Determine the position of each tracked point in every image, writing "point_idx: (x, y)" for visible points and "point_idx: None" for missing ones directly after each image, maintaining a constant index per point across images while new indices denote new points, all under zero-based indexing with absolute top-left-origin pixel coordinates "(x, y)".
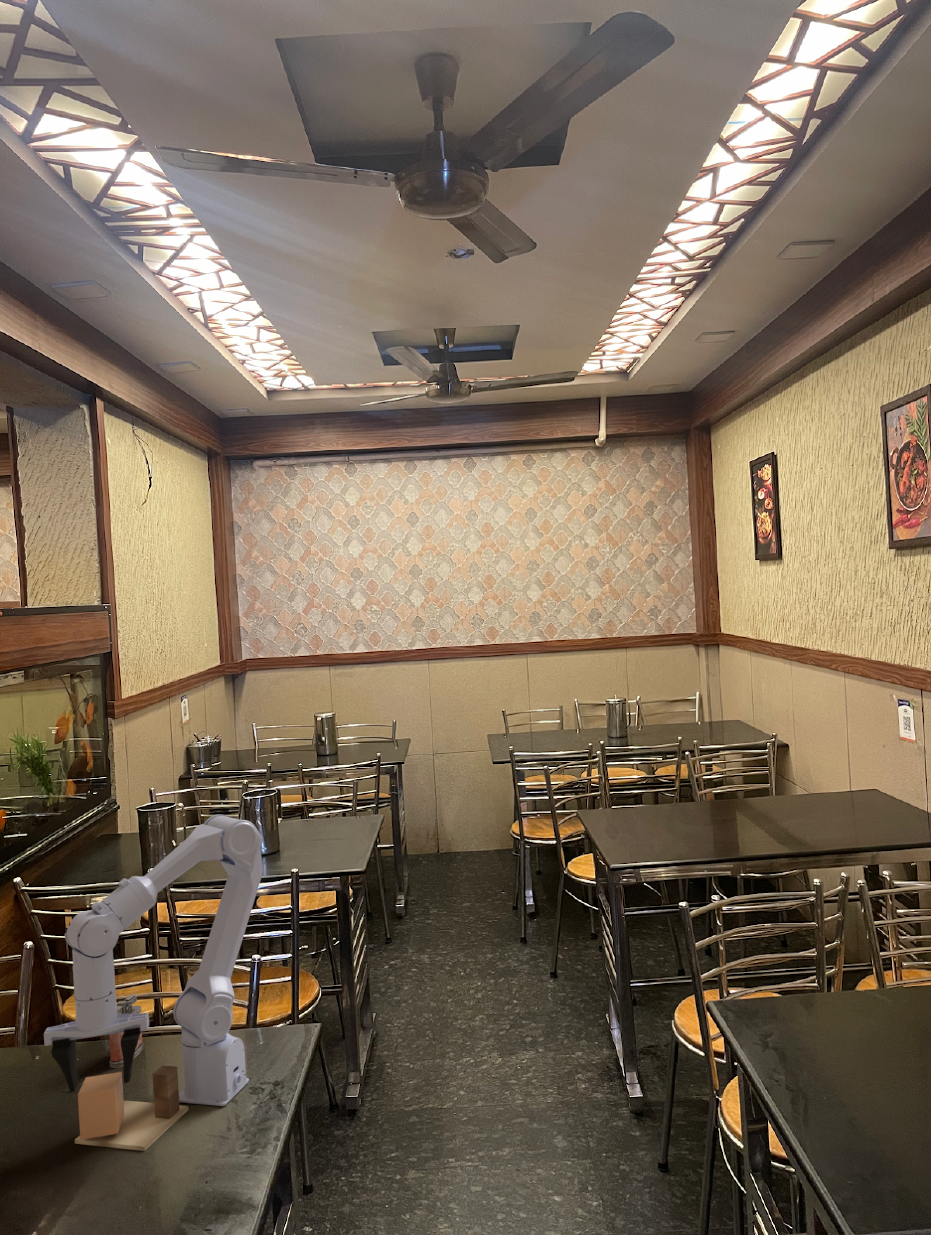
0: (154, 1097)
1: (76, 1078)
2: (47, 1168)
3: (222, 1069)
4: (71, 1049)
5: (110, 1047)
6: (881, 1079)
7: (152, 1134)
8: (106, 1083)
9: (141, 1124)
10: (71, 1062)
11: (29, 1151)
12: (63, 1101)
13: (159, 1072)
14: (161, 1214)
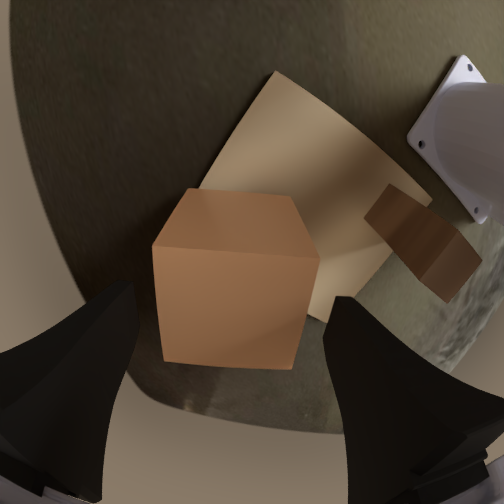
0: (386, 241)
1: (124, 310)
2: (141, 306)
3: None
4: (79, 456)
5: None
6: None
7: (348, 288)
8: (257, 331)
9: (330, 237)
10: (99, 412)
11: (80, 230)
12: (104, 8)
13: (437, 280)
14: (326, 424)
